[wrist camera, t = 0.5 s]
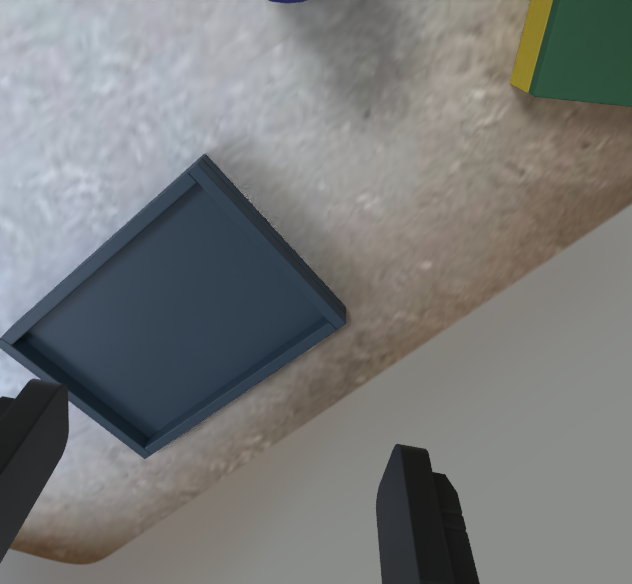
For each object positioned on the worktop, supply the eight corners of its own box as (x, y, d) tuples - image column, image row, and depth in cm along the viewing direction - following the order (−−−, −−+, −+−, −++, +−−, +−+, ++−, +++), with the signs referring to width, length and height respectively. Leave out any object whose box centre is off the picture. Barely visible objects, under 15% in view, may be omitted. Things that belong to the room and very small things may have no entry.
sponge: (509, 83, 30) (533, 96, 27) (537, -29, 28) (568, -32, 24) (650, 99, 30) (694, 113, 27) (692, -12, 28) (746, -12, 24)
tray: (153, 438, 44) (144, 459, 42) (11, 326, 39) (-6, 344, 37) (345, 306, 37) (346, 323, 36) (205, 153, 33) (197, 163, 31)
